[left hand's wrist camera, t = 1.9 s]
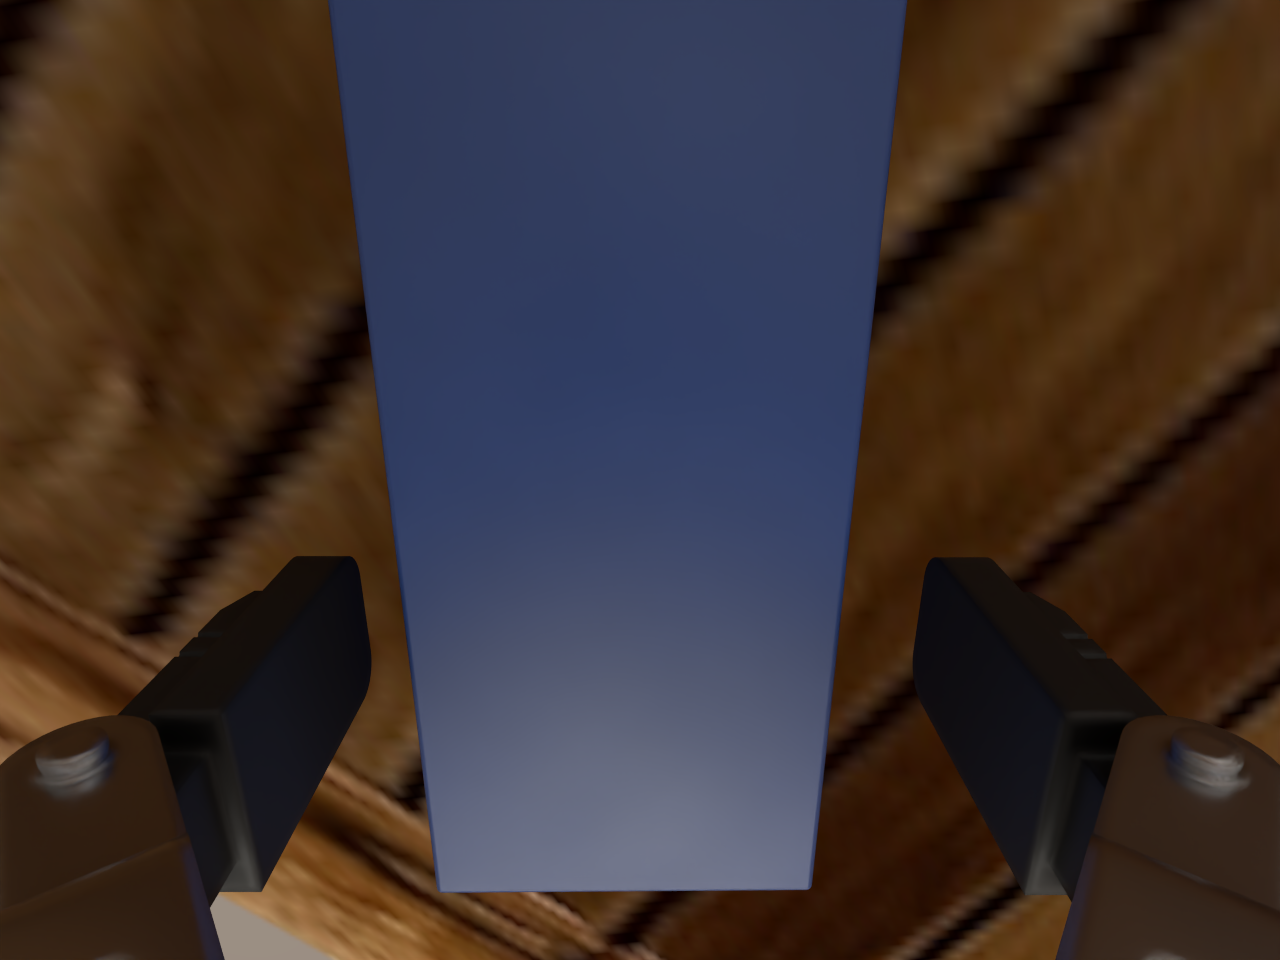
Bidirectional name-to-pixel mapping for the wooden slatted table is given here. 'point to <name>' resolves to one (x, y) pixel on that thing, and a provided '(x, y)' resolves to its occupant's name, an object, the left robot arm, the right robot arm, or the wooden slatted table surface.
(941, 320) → the wooden slatted table surface
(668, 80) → the bar
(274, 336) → the wooden slatted table surface
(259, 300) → the wooden slatted table surface
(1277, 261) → the wooden slatted table surface
